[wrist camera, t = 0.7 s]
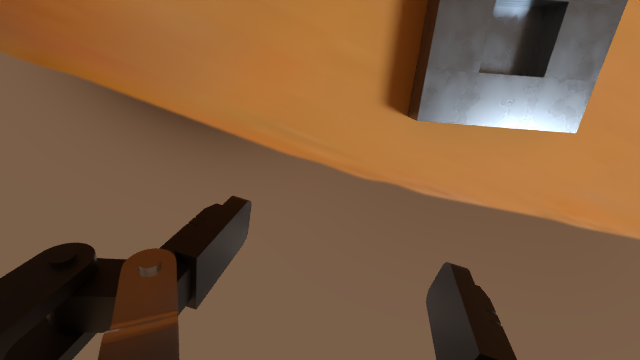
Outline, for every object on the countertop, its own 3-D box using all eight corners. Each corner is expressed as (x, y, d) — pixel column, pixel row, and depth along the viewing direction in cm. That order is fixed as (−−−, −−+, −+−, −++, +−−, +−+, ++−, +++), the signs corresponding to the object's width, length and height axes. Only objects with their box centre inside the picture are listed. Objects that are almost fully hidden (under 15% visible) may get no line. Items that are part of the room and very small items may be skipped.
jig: (438, -57, 29) (454, -79, 25) (610, -45, 28) (652, -65, 25) (407, 116, 35) (417, 120, 31) (549, 127, 35) (575, 132, 31)
